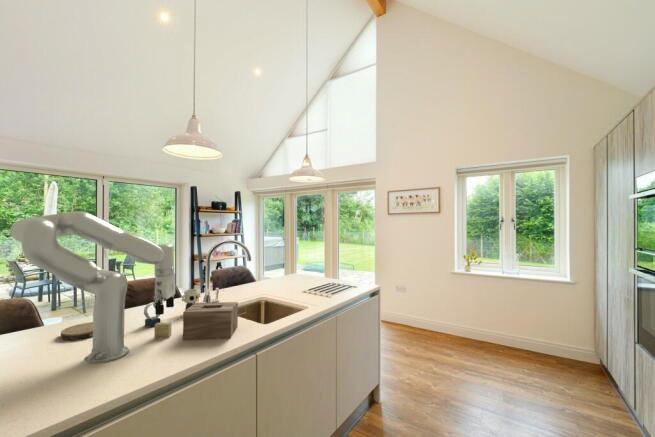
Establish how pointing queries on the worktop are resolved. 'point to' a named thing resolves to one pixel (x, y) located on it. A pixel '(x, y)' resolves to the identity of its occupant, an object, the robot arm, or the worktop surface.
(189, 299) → the character mug
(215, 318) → the coin box
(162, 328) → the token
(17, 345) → the worktop surface
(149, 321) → the watch
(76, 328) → the round wooden board
